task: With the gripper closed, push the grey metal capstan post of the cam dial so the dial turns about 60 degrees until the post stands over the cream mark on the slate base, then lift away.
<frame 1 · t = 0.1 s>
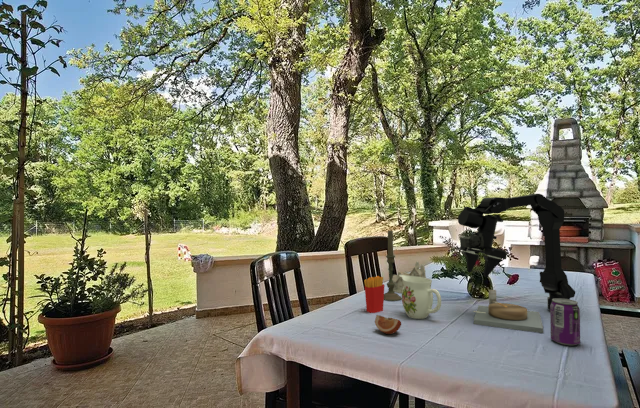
hand: (477, 274, 128), 15 cm above the table, tool pointing down, fingers open, 9 cm apart
ceramic cottage: (411, 291, 171), on the table
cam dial: (503, 303, 128), point 5 cm above the table, hinge at -60.0°
slate base: (507, 319, 126), on the table
pitcher: (419, 317, 130), on the table
fruit slice: (388, 333, 114), on the table
beverage can: (565, 343, 104), on the table
french fries: (374, 311, 138), on the table
candlestick holder: (390, 299, 156), on the table
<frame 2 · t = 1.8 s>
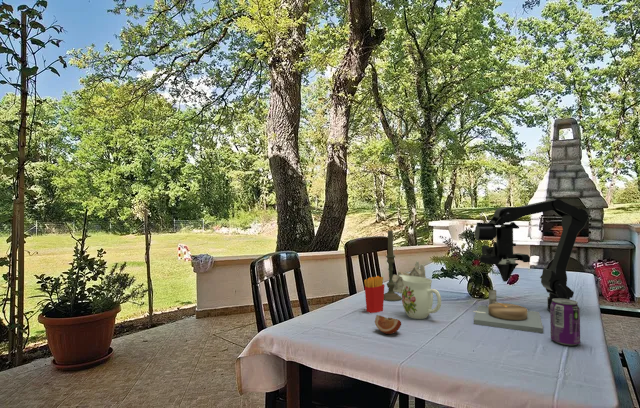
hand: (505, 281, 137), 11 cm above the table, tool pointing down, fingers closed
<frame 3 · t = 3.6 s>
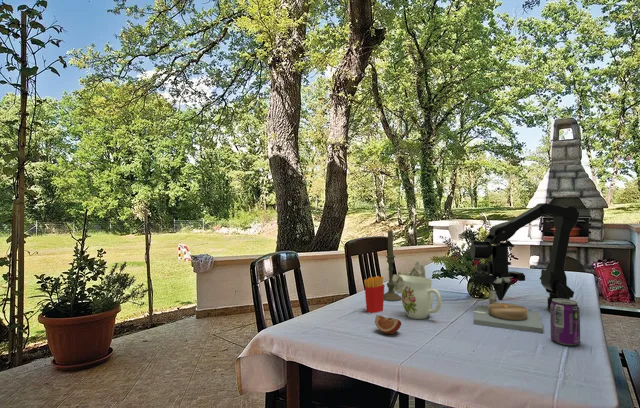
hand: (500, 300, 137), 4 cm above the table, tool pointing down, fingers closed
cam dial: (503, 303, 128), point 5 cm above the table, hinge at -60.0°, touching gripper
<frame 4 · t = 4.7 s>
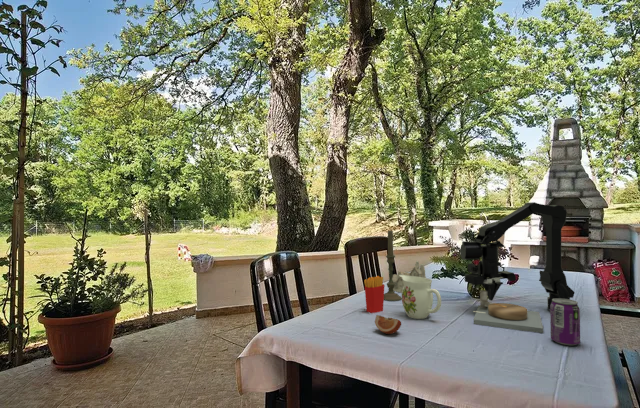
hand: (490, 300, 136), 4 cm above the table, tool pointing down, fingers closed
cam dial: (500, 304, 128), point 5 cm above the table, hinge at -38.0°, touching gripper
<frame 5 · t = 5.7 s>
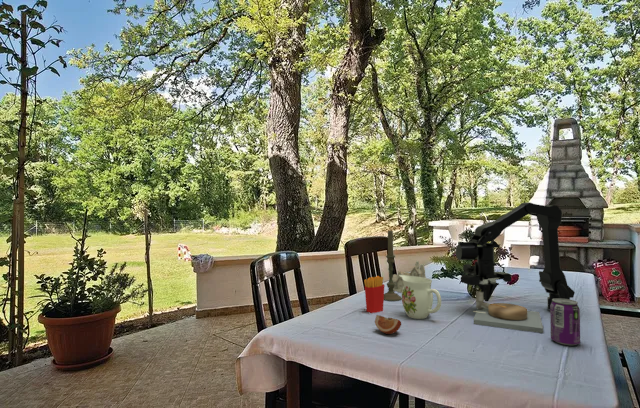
hand: (486, 301, 135), 4 cm above the table, tool pointing down, fingers closed
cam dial: (499, 304, 128), point 5 cm above the table, hinge at -24.3°, touching gripper
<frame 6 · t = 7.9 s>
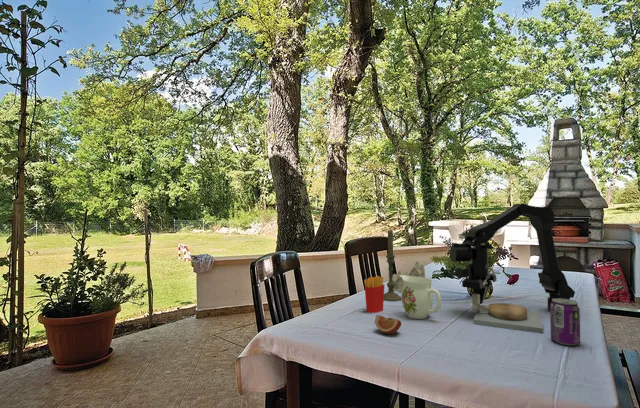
hand: (480, 303, 133), 4 cm above the table, tool pointing down, fingers closed
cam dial: (499, 305, 127), point 5 cm above the table, hinge at 6.9°
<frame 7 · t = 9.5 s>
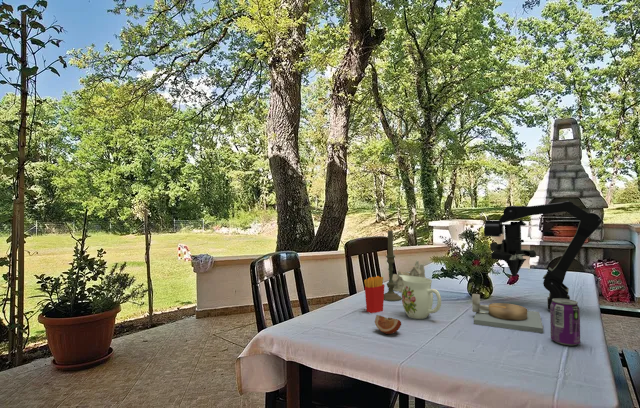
hand: (514, 276, 144), 12 cm above the table, tool pointing down, fingers closed
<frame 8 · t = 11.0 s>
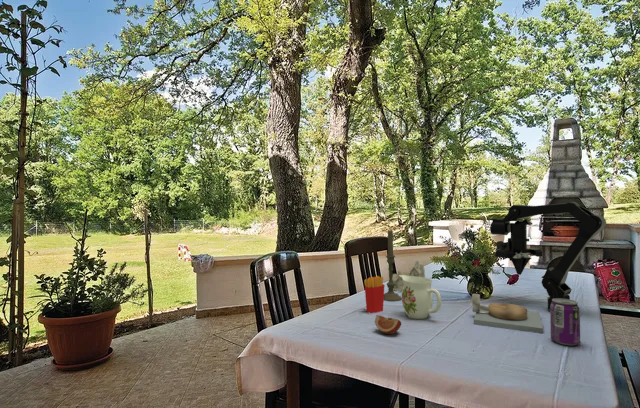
hand: (519, 274, 146), 12 cm above the table, tool pointing down, fingers closed
at the end: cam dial at +7° (first picture: -60°) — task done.
